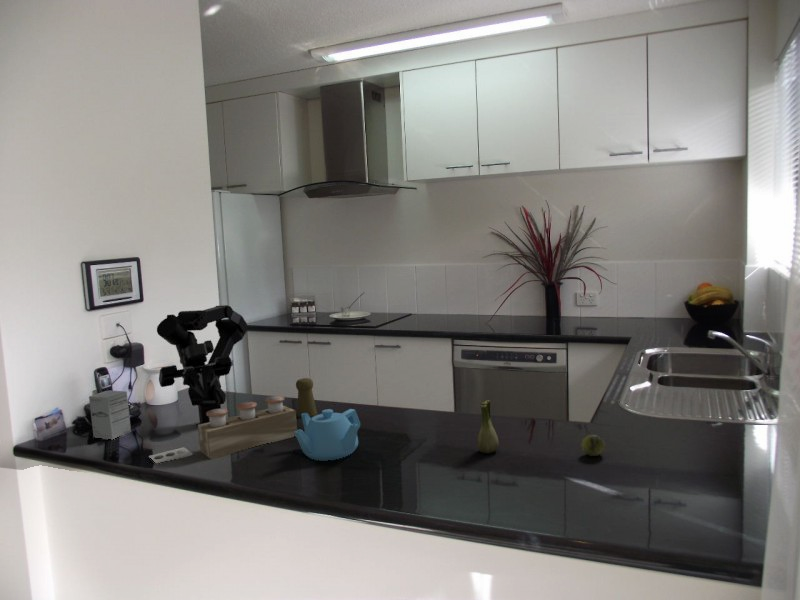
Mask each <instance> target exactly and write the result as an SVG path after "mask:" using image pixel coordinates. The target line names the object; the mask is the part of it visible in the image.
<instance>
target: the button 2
mask: <svg viewBox="0 0 800 600" xmlns="http://www.w3.org/2000/svg"><path fill="white" fill-rule="evenodd" d="M284 401H285V396H284V395H273V396H269V397H266V398H265V399H264V403H266V404H267V409H268V413H269V414H271V415H272V414H276V413H280V412H283V405H284V404H283V402H284Z"/></svg>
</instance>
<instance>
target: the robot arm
mask: <svg viewBox="0 0 800 600" xmlns="http://www.w3.org/2000/svg"><path fill="white" fill-rule="evenodd" d="M177 313H178V314H177V315H175V314H167V315H166V318H164V319H163V320H161V321H160V323H159V324H158V325H157V327H156V333H157V335H158V336H160V337H161V338H162V339H163V340H165V341H166V342H167V343H168V344H170V345H171V346H175V349H176V350H177V351H176V352H177V354H178V357H179V363H180V364H181V365H182V368H181V369H178V368H177V365H176V364H173V365H168V366H167V365H166V366H162V367H161V368H160V370H159V375H158V383H159V385H160V388H165V387H171V386H173V385H174V384H175V382H176V380H175V379H179V378H182V380H183V382H182V385H183V386H188V390H187V391H188V393H187V394H188V397H189V400H190V403H191V405H192V406H194V407H195V406H197V407H198V419H199V422H196V423H195V426H196V427H198V425H200V424H204V423H209V422H210V420H209V416H207V415H206V412H208V411H210V410H213V409H222V405H223V404H225V402H226V400H227V393H226V392H225V391H224V390H223V389H222V385H221V382H220V378H221V377H223V376H228V375H229V374H230V373H231V372H230V371H231V368H232V364H233V361H232V359H231V357H230V355H231V353H232V351H233V348H234V346H235V345H236V344H237V343H239V342H241V341H242V340H243V339H244V337H245V335H246V333H247V332H248V323H247V322H246V320H245V318H244V317H243V316H242V315H241V314H240V313H238V312H236V311H235V310H234V309H233V308H232V307H231V306H230V305H227V304H225V305H224V304H223V305H222V304H221V305H216V306H214V307H210V308H206V309H203V310H181V311H179V312H177ZM214 322H215V323H214ZM211 323H214V325H215V327H216V328H217V333H218V336H219V338H218V341H217V343H216V346H215V347H214V345H213V341H212V340H211V339H209V340H204V341H203V342H201V343H198V339H197V338H196V335H195V333H194V332H192V331H202V330H204V329H206V328H207V327H208V325H209V324H211ZM209 354H211V355H210V357H209V360H208V357H207V356H208V355H209ZM206 363H207V364H206Z"/></svg>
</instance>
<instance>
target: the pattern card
mask: <svg viewBox="0 0 800 600" xmlns="http://www.w3.org/2000/svg"><path fill="white" fill-rule="evenodd" d="M190 456H193V453H192V452H191V451H189V449H187V448H186V447H185V446H183V447H180V448H176V449H171V450H166V451H164V452H163V451H162V452H160V453H155V454H152V455H151V454H150V455H149V456H148V458H149V459H150V458H151V459H152V460H153V461H154V462H155V463H160V462H164V461H168V462H171V461H170V460H172V461H174V459H176V460H179V458H180V459H183V458H187V457H190ZM151 459H150V460H151ZM152 460H151V461H152ZM153 461H152V462H153ZM154 462H153V463H154ZM155 463H154V464H155ZM164 463H165V462H164ZM160 464H161V463H160Z"/></svg>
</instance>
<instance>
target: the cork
mask: <svg viewBox="0 0 800 600" xmlns="http://www.w3.org/2000/svg"><path fill="white" fill-rule="evenodd" d="M313 381H314V380H313V379H312V378H308V377H307V378H306V377H305V378H300V379H297V381H296V382H295V387H296V389H297V391H298V392H297V405H296V406H297V411H296V417H297V418H302V417H301V414H303V413H307V414H308V415H309V416H311V417H314V416H316V415H318V410H317V407H316V402H315V396H314V393H313V390H312V389H313V388H314V382H313Z"/></svg>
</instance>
